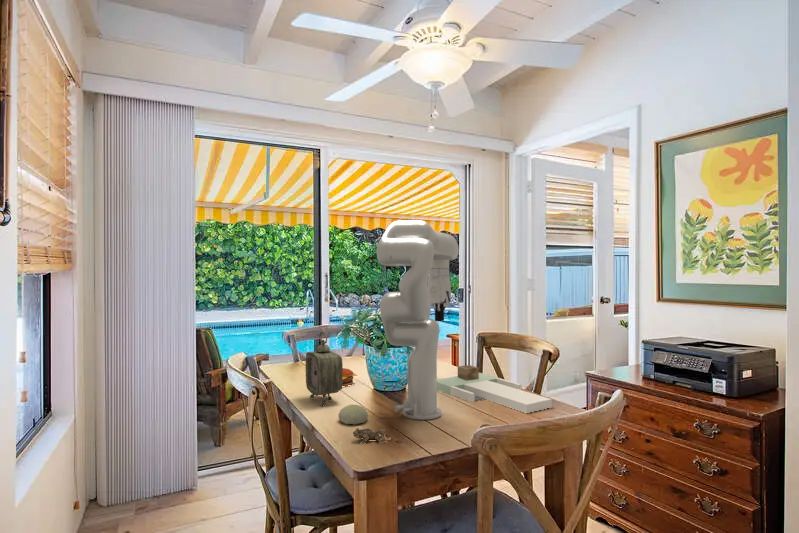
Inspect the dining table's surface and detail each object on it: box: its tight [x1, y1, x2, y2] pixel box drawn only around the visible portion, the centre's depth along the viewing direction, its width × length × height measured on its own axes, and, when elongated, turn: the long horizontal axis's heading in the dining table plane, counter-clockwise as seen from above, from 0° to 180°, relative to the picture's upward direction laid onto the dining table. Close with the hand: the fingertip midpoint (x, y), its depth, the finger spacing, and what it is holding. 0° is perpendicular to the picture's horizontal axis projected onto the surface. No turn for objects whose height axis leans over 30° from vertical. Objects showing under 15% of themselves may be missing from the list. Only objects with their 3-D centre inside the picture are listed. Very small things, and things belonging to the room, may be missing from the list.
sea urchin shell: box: [337, 404, 369, 425], centre depth 153 cm, size 9×8×8 cm
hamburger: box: [342, 367, 358, 386], centre depth 200 cm, size 9×10×7 cm
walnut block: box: [457, 364, 480, 381], centre depth 197 cm, size 6×6×4 cm
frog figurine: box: [352, 427, 387, 445], centre depth 138 cm, size 12×12×4 cm
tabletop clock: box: [305, 331, 344, 407], centre depth 175 cm, size 14×9×25 cm, turn 29°
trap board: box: [437, 372, 553, 414], centre depth 182 cm, size 25×44×3 cm, turn 32°
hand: (439, 321), depth 188 cm, fingers closed
